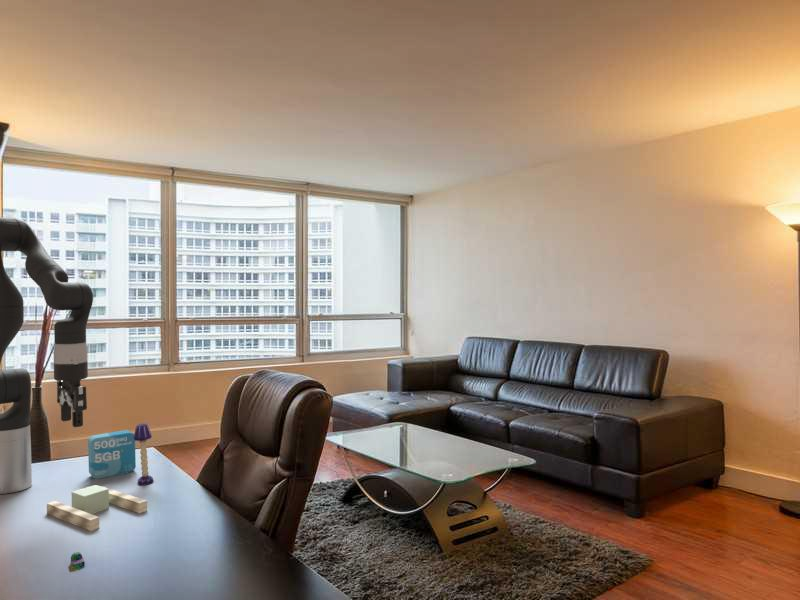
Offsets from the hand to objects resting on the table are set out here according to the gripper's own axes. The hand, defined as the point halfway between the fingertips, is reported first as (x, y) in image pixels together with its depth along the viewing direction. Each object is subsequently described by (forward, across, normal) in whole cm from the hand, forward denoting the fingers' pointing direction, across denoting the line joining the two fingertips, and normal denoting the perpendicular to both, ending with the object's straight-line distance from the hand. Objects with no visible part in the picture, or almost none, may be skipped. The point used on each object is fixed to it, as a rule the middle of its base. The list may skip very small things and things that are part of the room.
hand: (71, 423), depth 147 cm
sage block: (+21, +8, +2) cm, 22 cm away
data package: (+22, -18, +16) cm, 33 cm away
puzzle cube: (+21, +37, -11) cm, 44 cm away
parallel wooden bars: (+20, +11, +2) cm, 23 cm away
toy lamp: (+21, -2, +19) cm, 28 cm away
